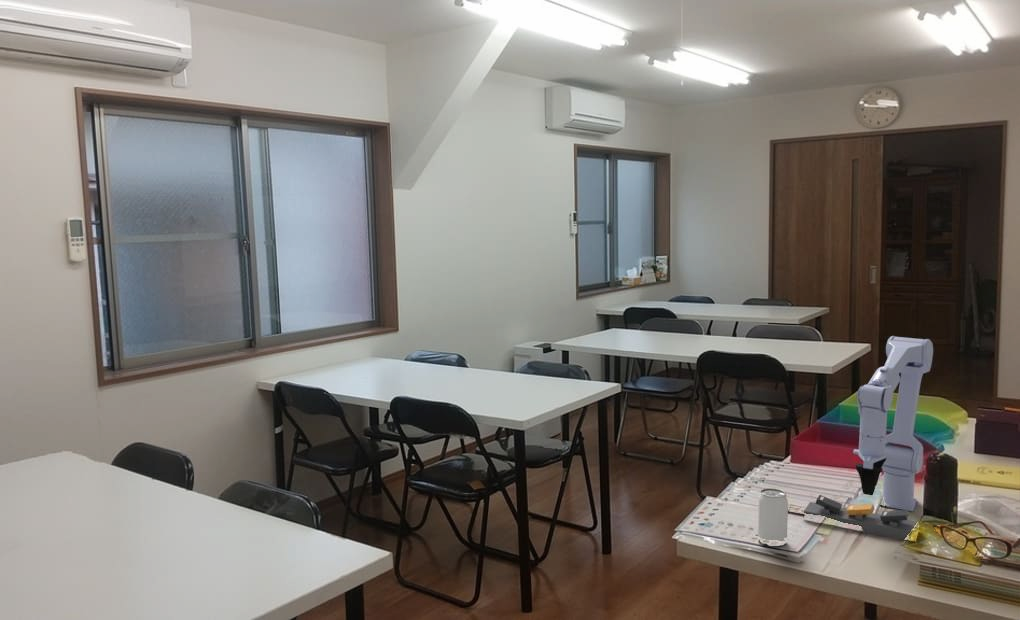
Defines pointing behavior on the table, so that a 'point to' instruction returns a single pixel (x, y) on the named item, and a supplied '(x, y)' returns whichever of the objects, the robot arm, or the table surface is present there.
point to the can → (772, 514)
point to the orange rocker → (860, 509)
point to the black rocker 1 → (828, 504)
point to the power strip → (866, 522)
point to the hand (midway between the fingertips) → (869, 489)
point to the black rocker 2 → (894, 515)
